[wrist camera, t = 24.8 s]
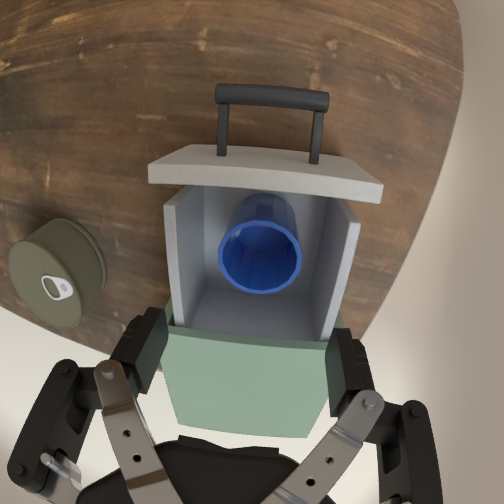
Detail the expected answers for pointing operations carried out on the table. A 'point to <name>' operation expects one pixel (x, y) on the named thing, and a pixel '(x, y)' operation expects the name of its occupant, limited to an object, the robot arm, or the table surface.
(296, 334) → the drawer
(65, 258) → the can
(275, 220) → the cup
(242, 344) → the mint green cabinet box
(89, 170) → the table surface
